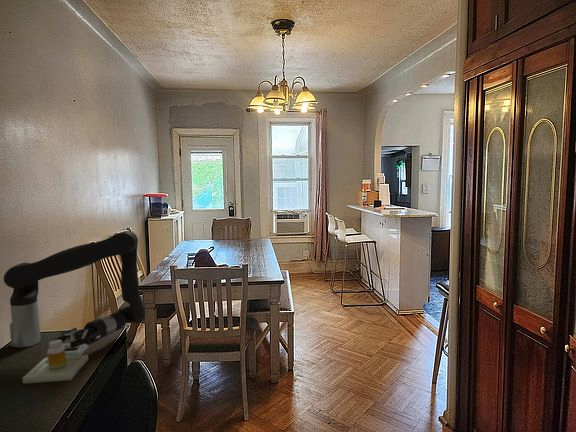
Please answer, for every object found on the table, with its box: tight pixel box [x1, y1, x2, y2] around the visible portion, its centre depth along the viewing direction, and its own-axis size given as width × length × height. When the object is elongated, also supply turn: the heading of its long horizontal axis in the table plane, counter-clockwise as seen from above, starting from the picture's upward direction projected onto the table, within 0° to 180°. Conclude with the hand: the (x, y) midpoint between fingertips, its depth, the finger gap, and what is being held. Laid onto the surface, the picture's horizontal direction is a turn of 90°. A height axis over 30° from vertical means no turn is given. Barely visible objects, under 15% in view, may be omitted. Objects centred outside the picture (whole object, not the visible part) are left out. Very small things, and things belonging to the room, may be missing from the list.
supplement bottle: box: [46, 339, 66, 372], centre depth 137 cm, size 5×5×10 cm
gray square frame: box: [62, 342, 90, 356], centre depth 153 cm, size 10×10×2 cm
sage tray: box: [22, 354, 89, 384], centre depth 137 cm, size 15×15×2 cm
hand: (62, 343), depth 139 cm, fingers open, 8 cm apart
